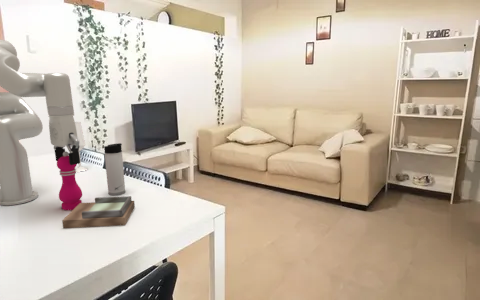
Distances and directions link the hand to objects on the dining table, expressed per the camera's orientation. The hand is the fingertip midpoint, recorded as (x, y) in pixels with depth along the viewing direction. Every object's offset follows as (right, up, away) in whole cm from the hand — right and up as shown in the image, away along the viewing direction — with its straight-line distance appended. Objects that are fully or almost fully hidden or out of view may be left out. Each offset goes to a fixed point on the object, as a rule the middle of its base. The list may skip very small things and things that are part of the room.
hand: (68, 162), depth 107 cm
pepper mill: (-1, -16, +4) cm, 17 cm away
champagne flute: (-21, -6, +50) cm, 54 cm away
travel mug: (+10, -13, +18) cm, 24 cm away
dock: (+13, -18, -5) cm, 23 cm away
